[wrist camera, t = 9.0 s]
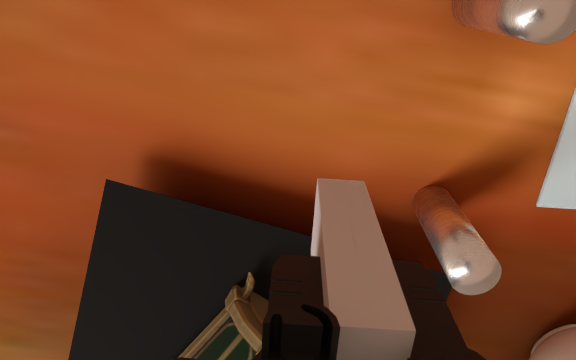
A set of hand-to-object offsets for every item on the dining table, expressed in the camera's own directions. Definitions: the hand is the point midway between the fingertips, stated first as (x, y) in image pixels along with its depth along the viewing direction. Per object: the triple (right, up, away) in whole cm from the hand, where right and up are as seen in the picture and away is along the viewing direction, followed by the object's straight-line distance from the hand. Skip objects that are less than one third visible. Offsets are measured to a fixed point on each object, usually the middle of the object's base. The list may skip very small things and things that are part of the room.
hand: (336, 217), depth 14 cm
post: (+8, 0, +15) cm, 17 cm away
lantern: (-6, -13, +22) cm, 26 cm away
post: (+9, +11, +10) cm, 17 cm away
